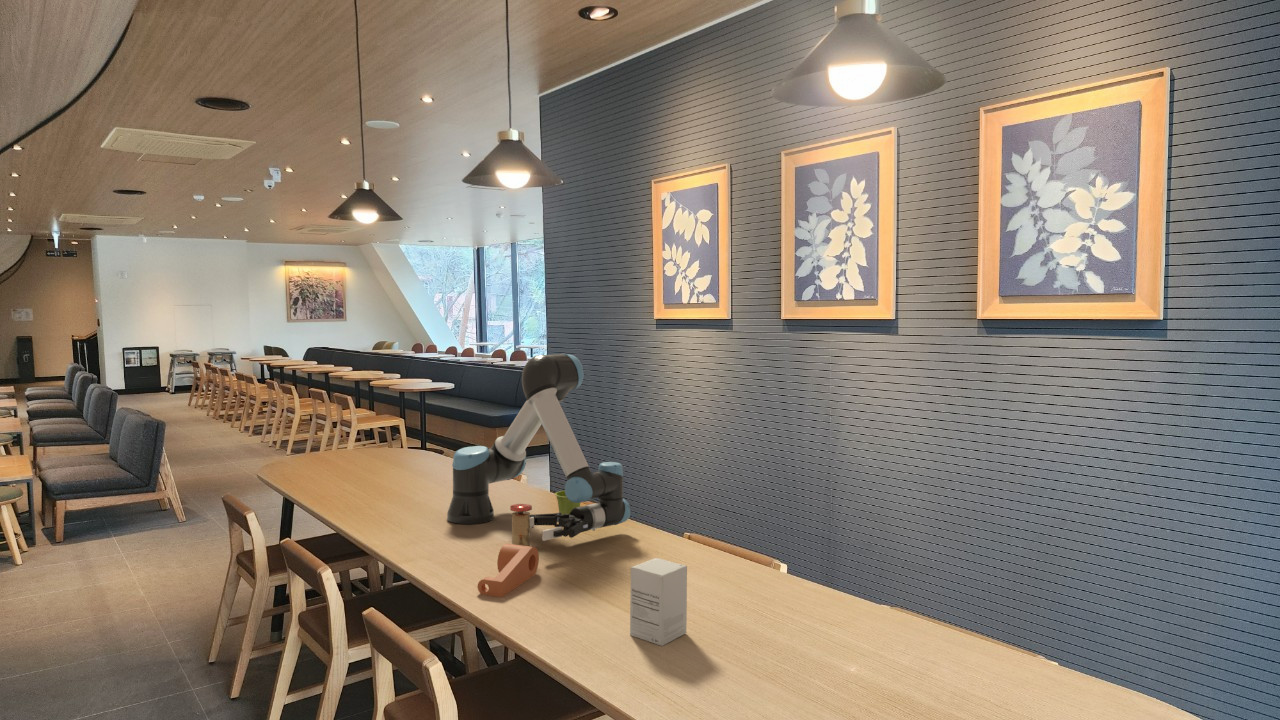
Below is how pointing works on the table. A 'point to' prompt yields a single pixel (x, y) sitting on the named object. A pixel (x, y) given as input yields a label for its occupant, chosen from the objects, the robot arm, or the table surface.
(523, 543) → the valve
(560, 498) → the plant pot
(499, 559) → the orange holed part
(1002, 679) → the table surface
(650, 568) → the supplement box
